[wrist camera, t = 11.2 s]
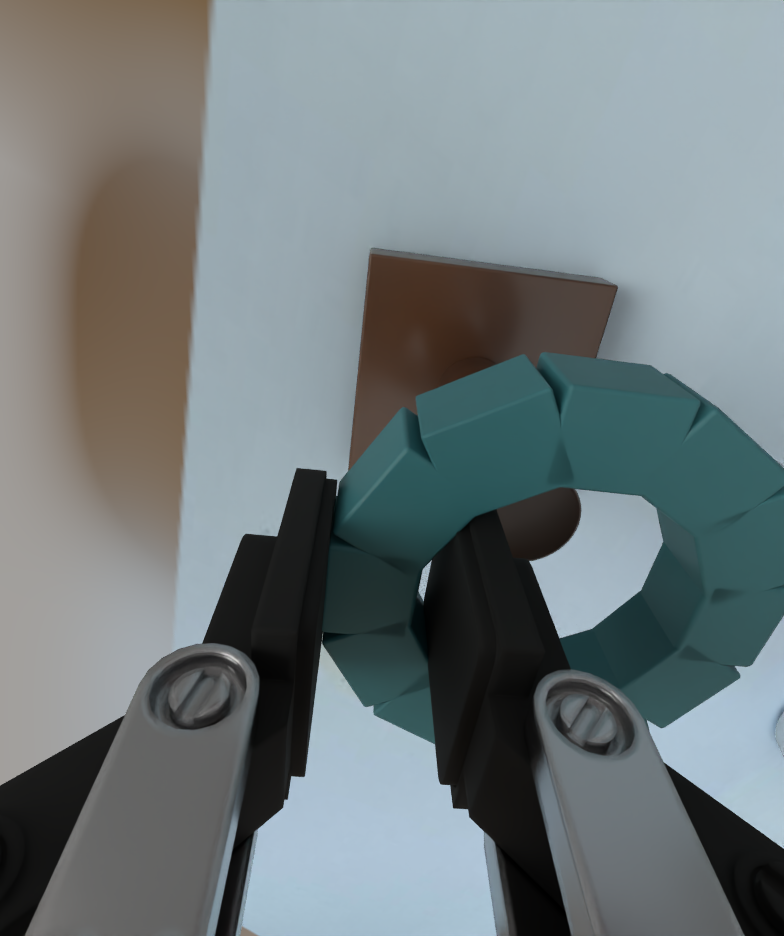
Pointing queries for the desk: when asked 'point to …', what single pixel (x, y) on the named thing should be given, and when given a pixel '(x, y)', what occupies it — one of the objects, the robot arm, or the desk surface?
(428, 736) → the teal segmented ring
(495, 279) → the stand
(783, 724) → the water bottle
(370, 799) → the desk surface
